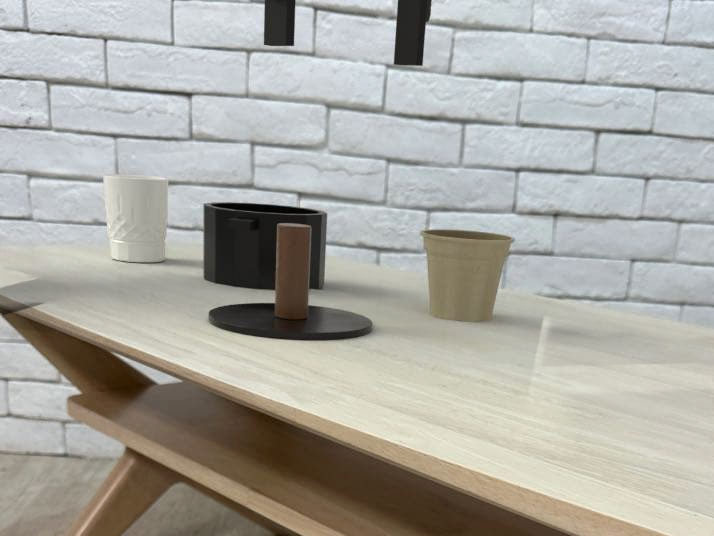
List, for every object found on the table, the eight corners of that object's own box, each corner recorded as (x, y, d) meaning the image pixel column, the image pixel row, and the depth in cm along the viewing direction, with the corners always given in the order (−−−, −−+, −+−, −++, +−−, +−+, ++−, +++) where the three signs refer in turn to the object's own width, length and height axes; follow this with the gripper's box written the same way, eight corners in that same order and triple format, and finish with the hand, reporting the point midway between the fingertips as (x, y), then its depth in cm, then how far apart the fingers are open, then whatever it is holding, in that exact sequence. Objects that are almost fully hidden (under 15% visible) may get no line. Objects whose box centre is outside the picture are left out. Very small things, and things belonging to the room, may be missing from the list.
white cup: (181, 262, 128) (181, 180, 124) (127, 264, 122) (125, 178, 119) (146, 254, 133) (145, 175, 129) (93, 256, 127) (90, 173, 123)
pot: (177, 290, 107) (176, 207, 104) (233, 270, 125) (234, 199, 121) (300, 302, 105) (303, 219, 102) (339, 281, 123) (343, 209, 120)
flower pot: (437, 330, 96) (445, 238, 93) (399, 313, 104) (405, 227, 101) (521, 330, 100) (532, 241, 97) (478, 313, 108) (487, 230, 105)
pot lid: (183, 335, 85) (183, 222, 81) (237, 309, 99) (239, 212, 95) (353, 353, 83) (359, 239, 80) (384, 325, 97) (391, 226, 93)
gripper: (252, -356, 60) (246, 35, 68) (515, -230, 77) (486, 72, 85) (183, -326, 65) (185, 36, 73) (445, -213, 82) (423, 71, 90)
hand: (347, 56), depth 79 cm, fingers open, 13 cm apart
